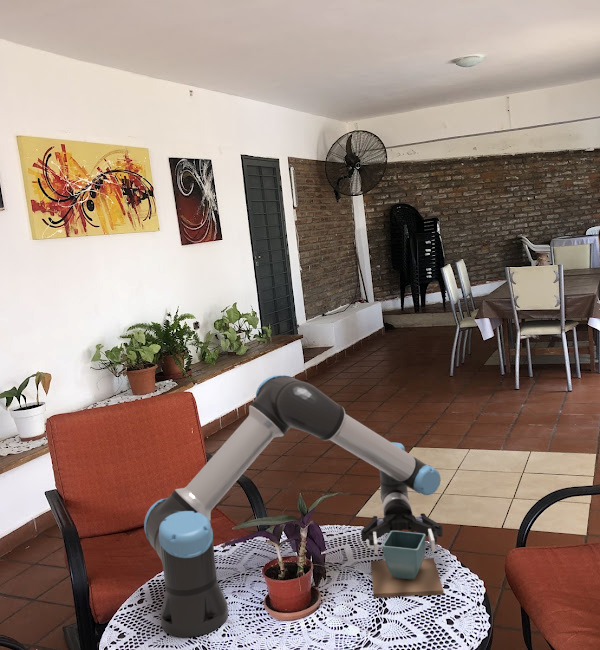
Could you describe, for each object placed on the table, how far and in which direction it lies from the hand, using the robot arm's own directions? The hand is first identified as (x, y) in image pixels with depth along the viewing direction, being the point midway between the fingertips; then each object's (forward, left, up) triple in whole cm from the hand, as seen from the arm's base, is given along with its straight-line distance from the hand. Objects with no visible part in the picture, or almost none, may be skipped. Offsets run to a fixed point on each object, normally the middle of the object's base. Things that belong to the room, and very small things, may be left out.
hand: (404, 547), depth 161 cm
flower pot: (0, +1, -8) cm, 8 cm away
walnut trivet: (0, +1, -9) cm, 9 cm away
